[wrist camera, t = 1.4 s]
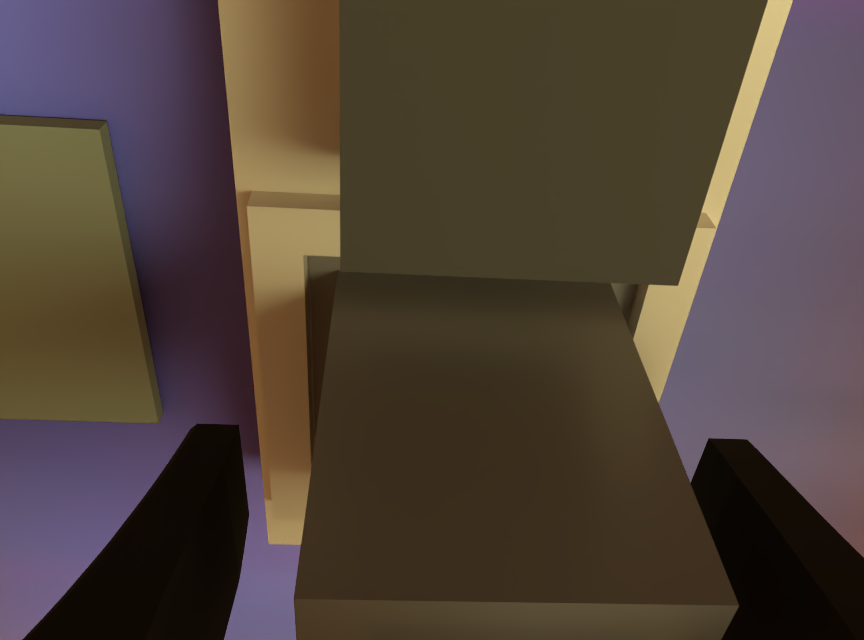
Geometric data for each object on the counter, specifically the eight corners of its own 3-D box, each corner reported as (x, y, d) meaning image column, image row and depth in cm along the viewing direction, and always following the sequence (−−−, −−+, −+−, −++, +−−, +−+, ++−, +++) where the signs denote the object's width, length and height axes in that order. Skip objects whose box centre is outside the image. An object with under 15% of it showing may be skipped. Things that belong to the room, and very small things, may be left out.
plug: (619, 175, 11) (678, 285, 9) (354, 161, 11) (340, 271, 9) (692, -131, 9) (797, -95, 7) (357, -158, 9) (338, -130, 6)
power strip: (587, 467, 19) (615, 573, 16) (283, 459, 18) (264, 567, 16) (988, -977, 7) (1300, -1377, 5) (177, -1104, 7) (41, -1623, 4)
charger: (563, 467, 15) (640, 813, 10) (338, 462, 15) (305, 813, 10) (610, 281, 12) (745, 623, 8) (337, 270, 12) (291, 616, 7)
